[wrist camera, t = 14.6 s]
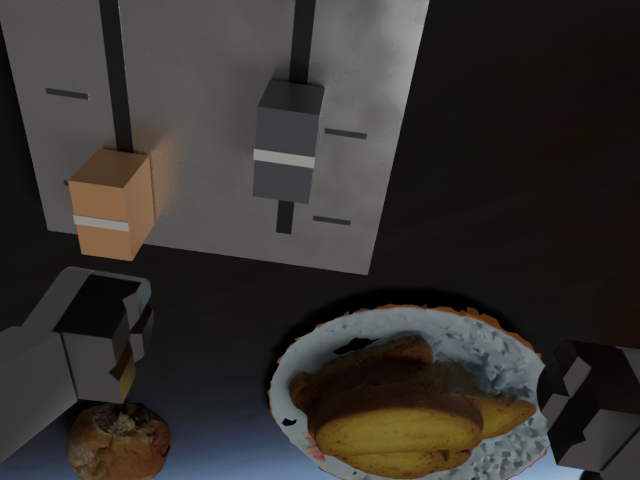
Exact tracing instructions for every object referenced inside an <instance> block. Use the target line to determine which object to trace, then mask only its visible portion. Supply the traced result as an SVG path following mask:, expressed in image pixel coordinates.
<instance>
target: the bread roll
mask: <svg viewBox="0 0 640 480" xmlns="http://www.w3.org/2000/svg"><path fill="white" fill-rule="evenodd" d="M171 444H172V436H171V433H170V430H169V427H168V425H167V424H166V423H165V421H164V420H163V419H162V418H160V417H159V416H157V415H156V414H154V413H152V412H150V411H149V410H148V409H145V408H142V407H140V406H139V405H136V404H129V403H124V402H123V404H121V403H112V402H111V403H106V404H101V405H95V406H93V407H90V408H89V409H86V410H83V411H82V412H81V414H80V415H79V416H78V417H77V419H76V420H75V422H74V424H73V426H72V428H71V429H70V431H69V433H68V436H67V440H66V456H67V459H68V461H69V464H70V466H71V468H72V469H73V471H74V472H75V474H76V475H77V476H78V477H79V478H80V479H81V480H153V479H154V478H155V477H156V475H157V474H158V473H159V472H160V471H161V469H162V468H163V465H164V463H165V461H166V459H167V457H168V453H169V450H170V448H171Z"/></svg>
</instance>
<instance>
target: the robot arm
mask: <svg viewBox="0 0 640 480" xmlns="http://www.w3.org/2000/svg"><path fill="white" fill-rule="evenodd" d="M150 295H151V289H150V282H149V280H147V279H145V278H139V277H133V276H127V275H121V274H115V273H110V272H104V271H98V270H95V271H94V270H89V269H83V268H77V267H71V266H69V267H68V268H66V269H64V270H63V271H62V272H61V273H60V274H59V276H58V277H57V278H56V280H55V281H54V283H53V284H52V285H51V287H50V288H49V289H48V291H47V292H46V293H45V295H44V296H43V297H42V299H41V300H40V302H39V303H38V304H37V306H36V307H35V308H34V310H33V311H32V312H31V314H30V315H29V317H28V318H27V319H26V321H25V322H24V323H23V325H22V326H21V327H14V326H12V327H10V328H8V329H6V330H4V331H2V332H0V463H1V462H3V461H4V460H5V459H6V458H8V457H9V456H10V455H11V454H12V453H14V452H15V451H16V450H17V449H19V448H20V447H21V446H22V445H24V444H25V443H26V442H27V441H29V440H30V439H31V438H32V437H34V436H35V435H36V434H37V433H39V432H40V431H41V430H42V429H43V428H45V427H46V426H47V425H48V424H50V423H51V422H52V421H53V420H55V419H56V418H57V417H58V416H60V415H61V414H62V413H63V412H65V411H66V410H67V409H68V408H69V407H71V406H72V405H73V404H74V403H76V402H77V399H85V400H94V401H103V402H112V403H121V404H123V402H124V400H125V398H126V396H127V393H128V391H129V389H130V387H131V384H132V382H133V380H134V378H135V376H136V372H135V364H134V363H135V362H136V361H138V360H139V359H141V358H142V357H144V355H145V353H146V350H147V348H148V346H149V343H150V339H151V335H152V331H153V310H152V309H151V307H150V306H149V305H148V304H147V301H148V299H149V297H150ZM554 355H555V358H556V361H554V362H552V363H550V364H548V365H547V366H545V367H544V368H543V370H542V372H541V374H540V375H539V377H538V383H537V389H536V394H537V403H538V406H539V409H540V413H541V414H542V415H543V416H544V417H545V418H546V419H547V420H548V421H549V422H550V423H551V426H550V428H549V430H548V432H547V436H548V439H549V442H550V445H551V448H552V452H553V455H554V458H555V461H556V464H557V465H559V466H565V467H571V468H577V469H583V470H589V471H595V472H601V474H600V475H601V477H602V478H603V479H604V480H640V350H639V349H631V348H624V347H613V346H608V345H601V344H594V343H586V342H579V341H572V340H564V341H562V342H561V343H559V344H558V346H557V347H556V349H555V350H554Z"/></svg>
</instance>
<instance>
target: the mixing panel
mask: <svg viewBox="0 0 640 480" xmlns="http://www.w3.org/2000/svg"><path fill="white" fill-rule="evenodd" d="M428 4H429V0H0V22H1V26H2V31H3V35H4V39H5V44H6V48H7V53H8V57H9V61H10V66H11V70H12V74H13V79H14V83H15V87H16V92H17V96H18V101H19V105H20V109H21V114H22V118H23V122H24V127H25V131H26V135H27V140H28V144H29V149H30V153H31V157H32V162H33V166H34V170H35V175H36V179H37V184H38V188H39V192H40V197H41V201H42V205H43V210H44V214H45V218H46V223H47V227H48V230H51V231H58V232H65V233H72V234H78V231H77V226H76V224H74V218H73V214H74V210H73V205H72V199H71V194H70V189H69V184H68V180H69V179H70V178H71V177H72V176H73V175H74V174H75V173H76V172H77V171H78V170H79V169H80V168H81V167H82V166H83V165H84V164H85V163H86V162H87V161H88V160H89V159H90V158H91V157H92V156H93V155H94V153H95V152H96V151H97V150H98V149H106V150H113V151H120V152H127V153H135V154H142V155H149V162H150V175H151V187H152V199H153V211H154V223H155V224H154V226H153V227H152V229H151V231H150V232H149V234H148V236H147V237H146V239H145V240H144V242H143V244H151V245H158V246H165V247H172V248H179V249H186V250H193V251H200V252H207V253H215V254H222V255H229V256H236V257H243V258H250V259H257V260H264V261H271V262H278V263H286V264H293V265H300V266H307V267H314V268H321V269H328V270H335V271H342V272H350V273H357V274H364V275H368V271H369V266H370V262H371V257H372V253H373V248H374V244H375V239H376V235H377V231H378V226H379V222H380V217H381V213H382V208H383V204H384V199H385V195H386V191H387V186H388V182H389V177H390V173H391V168H392V164H393V159H394V155H395V150H396V146H397V142H398V137H399V133H400V128H401V124H402V119H403V115H404V110H405V106H406V102H407V97H408V93H409V88H410V84H411V79H412V75H413V70H414V66H415V62H416V57H417V53H418V48H419V44H420V39H421V35H422V30H423V26H424V21H425V17H426V13H427V8H428ZM270 80H277V81H284V82H291V83H298V84H305V85H312V86H319V87H325V92H324V100H323V108H322V116H321V124H320V132H319V140H318V147H317V155H316V163H315V171H314V176H313V182H312V187H311V193H310V199H309V204H304V203H297V202H290V201H282V200H275V199H268V198H261V197H254V196H253V180H254V160H253V156H254V148H255V140H256V121H257V106H258V104H259V102H260V100H261V97H262V95H263V93H264V91H265V89H266V87H267V85H268V83H269V81H270Z"/></svg>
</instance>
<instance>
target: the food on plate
mask: <svg viewBox="0 0 640 480" xmlns="http://www.w3.org/2000/svg"><path fill="white" fill-rule="evenodd" d="M356 337H358V338H369V339H371V340H375V339H378V338H381V339H379V340H376V341H374V342H373V343H371V344H370V345H368V346H366V347H364V348H362V349H359V350H357V351H349V352H347V353H344V354H334V352H333V351H334V350H337V349H338V348H340V347H342V346H344V345H348V344H349V342H350V341H351V340H352V339H354V338H356ZM295 340H296V341H297V342H295V343H293V344H291V345H290V346H289V347H288V348H287V350H286V352H285V355H283V356H281V357H280V358H279V359H278V361H277V363H280V364H279V366H278V368H277V370H276V372H275V374H274V375H273V380H272V381H270V383H271V388H270V390H268V391H267V393H268V396H269V400H270V401H269V405H270V408H271V409H270V414H271V415H272V417H273V419H274V420H275V422H276V423H277V424H278V425H279V426H280V427H281V429H282V431H283V432H284V433H285V434H286V435H287V436H288V437H289V439H290V441H291V443H293V444H295V445H296V446H297V447H298V448H299V449H300V450H301V451H302V452H303V453H305V454H306V455H307V456H308V457H309V458H311V459H312V460H313V461H314V462H315V464H317V465H320V466H321V467H319V468H320V470H322V471H325V472H328V473H330V474H332V475H333V476H334V477H337V478H340V479H343V480H508V479H510V478H511V477H513V476H517V475H518V474H520V473H522V472H523V471H524V470H525V469H526V468H527V467H531V466H532V465H533V464H534V463H535V462H536V461H537V460H539V459H540V458H542V457H543V456H545V455H546V453H547V448H548V447H549V446H550V442H549V439H548V436H547V432H548V430H549V428H550V426H551V423H550V422H549V421H548V420H547V419H546V418H545V417H544V416H543V415H542V414H541V413H540V409H539V406H538V403H537V394H536V389H537V383H538V377H539V375H540V374H541V372H542V370H543V368H544V367H545V366H546V365H545V364H544V363H543V362H542V361H541V354H540V353H535V352H534V349H533V347H532V346H531V344H530V343H529V342H527V341H525V340H523V339H522V338H521V337H520V336H519V335H518V334H517V333H510V332H507V331H505V330H504V329H502V328H501V327H500V325H499V323H498V321H497V319H495V318H492V317H490V316H488V315H486V314H482V315H479V313H478V312H477V310H476V309H475V308H470V307H467V313H466V312H465V311H464V310H462V311H460V312H457V311H455V310H454V309H452V308H450V307H437V308H427V305H426V304H425V305H423V306H422V307H420V306H416V305H394V304H388V305H385V306H380V307H377V308H375V309H373V310H369V309H364V308H362V309H360V310H358V311H356V312H354V313H353V315H349V310H348V311H347V312H346V313H345V314H344V315H343V316H342V317H338V318H336V319H334V320H333V321H328V322H326V323H322V324H319V325H316V327H315V330H314V331H312V332H311V333H309V334H307V335H305V336H302V337H299V338H295ZM285 418H287V419H289V420H291V421H293V420H295V419H297V421H296V423H295V424H293V425H292V426H284V425H283V424H282V422H283V420H284V419H285Z"/></svg>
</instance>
